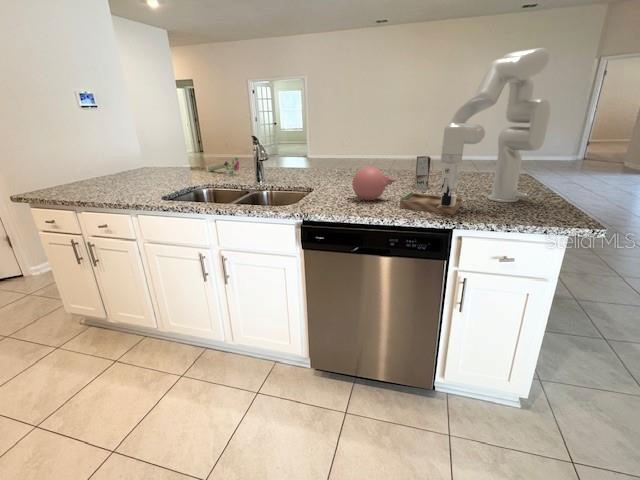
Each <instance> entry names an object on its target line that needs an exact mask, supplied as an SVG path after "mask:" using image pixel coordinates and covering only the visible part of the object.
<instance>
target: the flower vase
mask: <svg viewBox="0 0 640 480" xmlns="http://www.w3.org/2000/svg"><path fill="white" fill-rule="evenodd" d="M219 169H226V170H227V171H230V172H229V175H230V174H231V175H233V174H234V172H237V171H239V170H240V160H239V157H235V159H232V162H231V163H230V162H228V161H227V160H226V159H225V160H223V161H221V162H220V163H215V164H209V165H208V166H207V170H208V172H210V171H212V172H214V171H216V170H219Z"/></svg>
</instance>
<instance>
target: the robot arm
mask: <svg viewBox="0 0 640 480" xmlns="http://www.w3.org/2000/svg"><path fill="white" fill-rule="evenodd" d="M549 63H550V52H549V51H548V49H547V48H544V47H537V48H531V49H525V50H518V51H517V50H516V51H512V52H510V53H506V54H505V55H503V56H502V57H501V58H498V59H495V60H493V61H492V62H491V63H490V64H489V65H488V67H487V69H486V71H485V73H484V75H483V77H482V79H481V81H480V83H479V85H478V86H477V89H476V91H475V93H474V94H473V96H472V97H471V98H469V99H468V100H467V101H465V102H464V103H463V104H461V106H460V107H459V108H458V109H457V110H456V111H455V112H454V114H453V116H452V118H451V120H450V122H449V124H448V125H445V127H444V129H443V138H442V146H441V155H440V163H442V167H441V176H440V177H441V178H440V187H439V188H440V189H441V190H442V195H441V196H442V202H441V205H444V206H450V203H451V194H452V193H453V190H455V189H456V188H457V186H458V182H459V181H458V180H459V171H460V164H462V160H463V153H464V146H465V145H477V144H478V143H480V142H482V141H483V139H484V138H485V135H486V130H485V128H484V126H483V125H481V124H478V123H468V122H467V121H468V120H469V119H471V118H472V117H473V116H474V115H477V114H478V113H481V112H483V111H486V110H487V109H489V108H492V107H494V106H495V105H496V103H497V102H498V100H499V98H500V96H501V93H502V92H503V90H504V88H505V86H506V84H507V83H508V85H509V91H508V98H507V104H506V111H505V116H506V117H505V119H506V121H507V122H509V123H511V124H512V123H513V124H529V126H522V125H521V126H517V125H514V126H511V125H510V126H508V127H504V128H503V129H502V130H501V131H500V132H499V134H498V137H497V150H498V151H497V159H496V164H495V172H494V178H493V184H492V189H491V193H490V194H488V195H487V197H486V198H487V199H488V200H490V201H492V202H498V203H517V202H518V201H519V199H520V198H522V199H523V198H525V199H527V197H528V193H525V192H520V191H518V182H519V178H520V172H521V167H522V160H523V159H522V156H521V153H520V151H522V152H523V151H524V152H536V151H538V150H541V148H542V147H543V145H544V142H545V141H546V140H545V139H546V135H547V130H548V125H549V120H550V115H551V104H550V101H549V100H548V99H546V98H544V97H533V92H534V87H535V86H534V85H535V84H534V80H533V78H532V77H534V76H536V75H538V74H540V73H542V72H543V71H545V69H546V68H547V66H548V65H549ZM452 195H453V194H452Z"/></svg>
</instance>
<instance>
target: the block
mask: <svg viewBox="0 0 640 480" xmlns="http://www.w3.org/2000/svg"><path fill="white" fill-rule="evenodd" d="M440 196H441V202H442V195H440ZM456 198H458V197H457V194H451V203H450V206H447V207H454V205H455V204H456ZM440 206H444V205H441V204H440Z"/></svg>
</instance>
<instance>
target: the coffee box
mask: <svg viewBox="0 0 640 480" xmlns="http://www.w3.org/2000/svg"><path fill="white" fill-rule="evenodd" d="M431 159H432V158H431V157H430V155H429V156H428V155H420V156H419V155H417V156H416V163H415V164H416V165H415V179H414V187H415V189H417V190H428V186H429V179H430V168H431Z"/></svg>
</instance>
